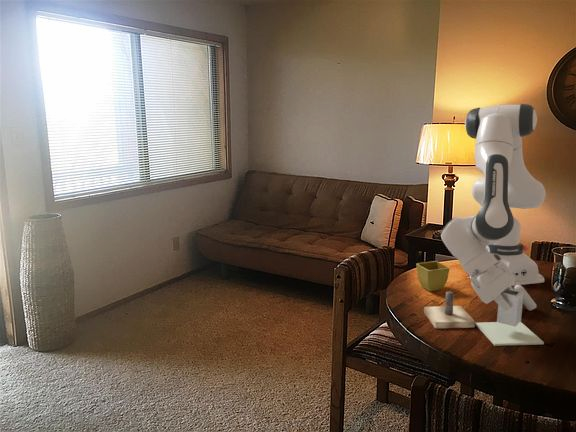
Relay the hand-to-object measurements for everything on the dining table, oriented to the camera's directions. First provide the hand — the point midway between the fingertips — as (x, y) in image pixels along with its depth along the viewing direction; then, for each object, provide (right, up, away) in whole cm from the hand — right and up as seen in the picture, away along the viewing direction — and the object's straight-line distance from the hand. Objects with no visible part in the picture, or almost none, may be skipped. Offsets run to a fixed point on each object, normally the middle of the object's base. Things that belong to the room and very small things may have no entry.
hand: (512, 305), depth 148 cm
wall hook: (+10, -5, +20) cm, 23 cm away
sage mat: (0, -9, +2) cm, 9 cm away
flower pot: (-12, -1, +39) cm, 41 cm away
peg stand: (-15, -7, +13) cm, 21 cm away
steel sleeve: (0, -5, +1) cm, 5 cm away
